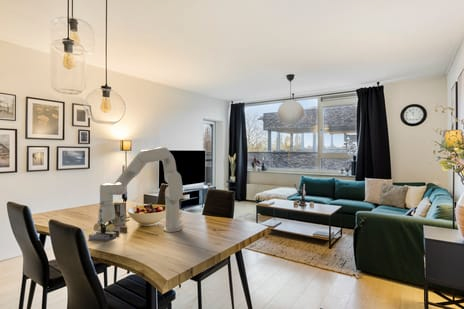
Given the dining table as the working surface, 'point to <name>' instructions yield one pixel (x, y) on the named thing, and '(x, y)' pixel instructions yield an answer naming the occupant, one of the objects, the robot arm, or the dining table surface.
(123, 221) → the coffee box
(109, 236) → the steel v block
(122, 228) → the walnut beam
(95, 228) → the brass axle
